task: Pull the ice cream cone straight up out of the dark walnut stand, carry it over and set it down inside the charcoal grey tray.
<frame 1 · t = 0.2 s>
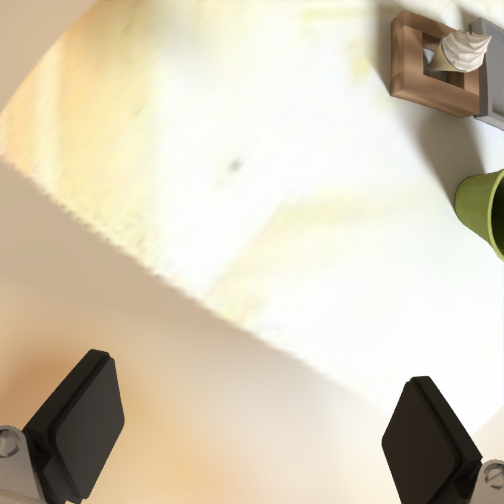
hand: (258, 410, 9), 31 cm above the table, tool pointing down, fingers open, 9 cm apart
plant pot: (471, 202, 37), on the table
cone stand: (428, 68, 33), on the table
ice cream cone: (427, 69, 33), resting in cone stand
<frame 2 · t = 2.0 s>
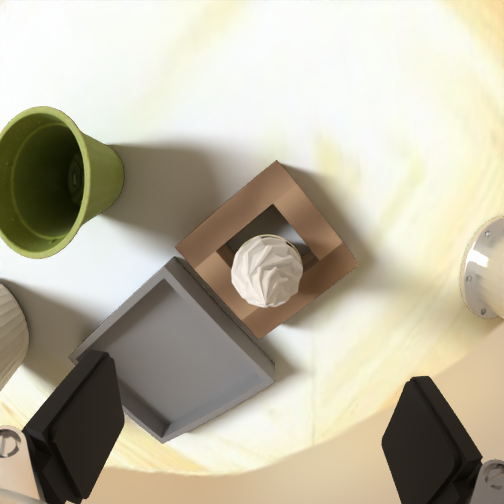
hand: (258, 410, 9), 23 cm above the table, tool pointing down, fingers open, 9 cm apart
plant pot: (97, 176, 31), on the table
grey tray: (169, 356, 35), on the table
cone stand: (267, 244, 31), on the table
canister: (4, 316, 36), on the table
ice cream cone: (267, 243, 32), resting in cone stand
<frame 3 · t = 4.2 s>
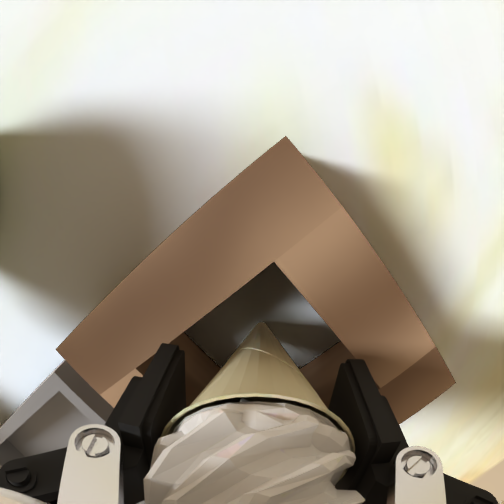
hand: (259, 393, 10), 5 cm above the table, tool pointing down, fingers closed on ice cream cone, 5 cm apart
grey tray: (110, 468, 18), on the table
cone stand: (261, 326, 15), on the table
ice cream cone: (261, 324, 15), resting in cone stand, touching gripper
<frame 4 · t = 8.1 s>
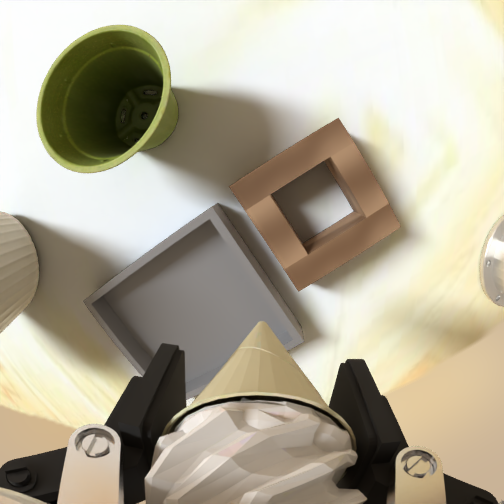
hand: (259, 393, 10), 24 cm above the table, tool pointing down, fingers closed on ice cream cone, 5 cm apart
plant pot: (147, 115, 31), on the table
grey tray: (193, 309, 35), on the table
cone stand: (312, 201, 32), on the table
canister: (13, 257, 35), on the table
ice cream cone: (262, 323, 15), point 19 cm above the table, touching gripper
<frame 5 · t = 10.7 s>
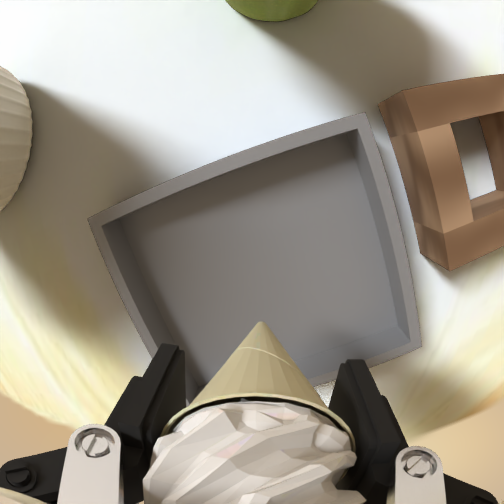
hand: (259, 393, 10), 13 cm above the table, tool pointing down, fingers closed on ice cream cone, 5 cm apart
grey tray: (264, 272, 23), on the table
cone stand: (461, 161, 20), on the table
ice cream cone: (261, 323, 15), point 8 cm above the table, touching gripper
when the fingers open (7 cm above the table, at t = 12.3 s): ice cream cone drops 1 cm, resting on grey tray.
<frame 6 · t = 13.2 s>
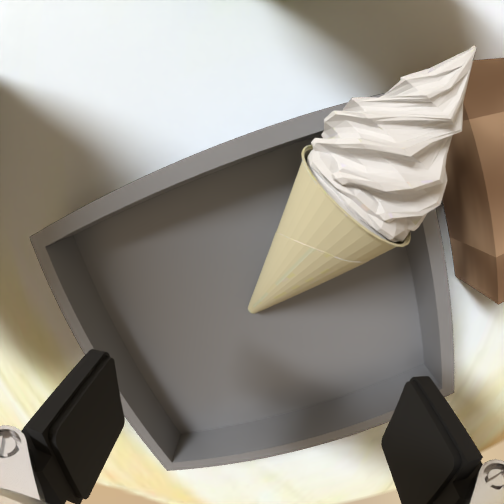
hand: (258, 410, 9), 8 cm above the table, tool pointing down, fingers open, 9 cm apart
grey tray: (260, 304, 17), on the table
ice cream cone: (250, 311, 16), point 1 cm above the table, touching grey tray
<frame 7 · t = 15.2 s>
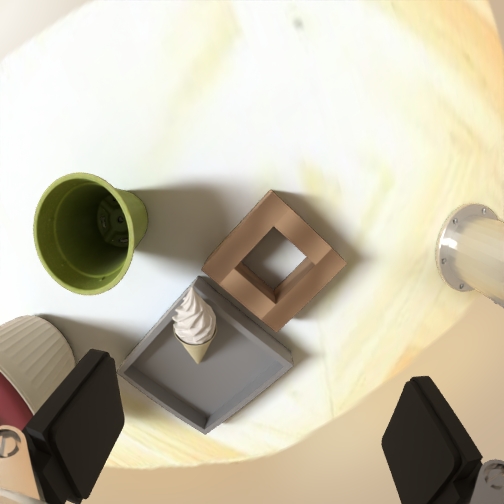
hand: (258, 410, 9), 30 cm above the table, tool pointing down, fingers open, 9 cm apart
plant pot: (123, 217, 38), on the table
grey tray: (203, 358, 43), on the table
cone stand: (272, 255, 39), on the table
canister: (47, 347, 44), on the table
ice cream cone: (198, 363, 42), point 1 cm above the table, touching grey tray
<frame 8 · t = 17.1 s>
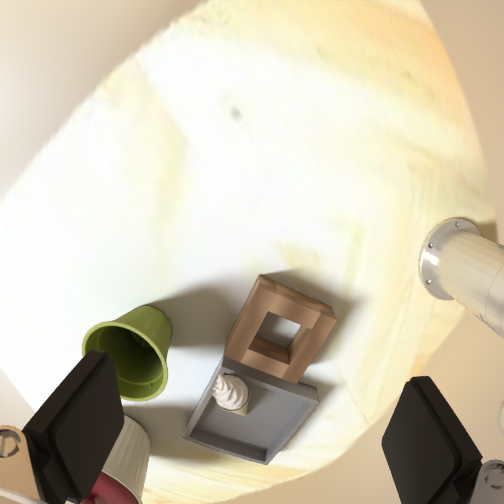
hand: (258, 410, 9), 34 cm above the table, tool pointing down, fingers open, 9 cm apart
plant pot: (150, 324, 47), on the table
grey tray: (247, 409, 50), on the table
cone stand: (278, 324, 46), on the table
canister: (121, 429, 53), on the table
ice cream cone: (245, 415, 49), point 1 cm above the table, touching grey tray
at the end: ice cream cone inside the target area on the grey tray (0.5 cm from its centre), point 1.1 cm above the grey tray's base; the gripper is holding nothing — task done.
